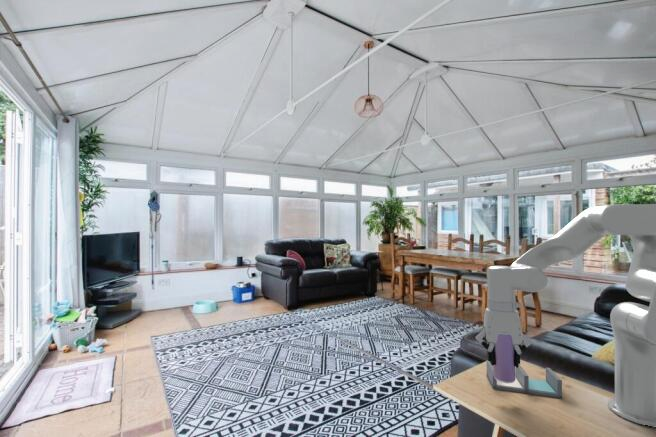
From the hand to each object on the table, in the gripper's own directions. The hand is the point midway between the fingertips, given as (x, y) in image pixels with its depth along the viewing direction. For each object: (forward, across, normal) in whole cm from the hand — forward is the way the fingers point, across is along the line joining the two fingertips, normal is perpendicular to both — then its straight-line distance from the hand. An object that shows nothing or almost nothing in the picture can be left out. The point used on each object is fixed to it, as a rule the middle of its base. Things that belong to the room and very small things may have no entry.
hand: (503, 364), depth 96 cm
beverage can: (+5, 0, 0) cm, 5 cm away
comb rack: (+11, -8, -11) cm, 17 cm away
